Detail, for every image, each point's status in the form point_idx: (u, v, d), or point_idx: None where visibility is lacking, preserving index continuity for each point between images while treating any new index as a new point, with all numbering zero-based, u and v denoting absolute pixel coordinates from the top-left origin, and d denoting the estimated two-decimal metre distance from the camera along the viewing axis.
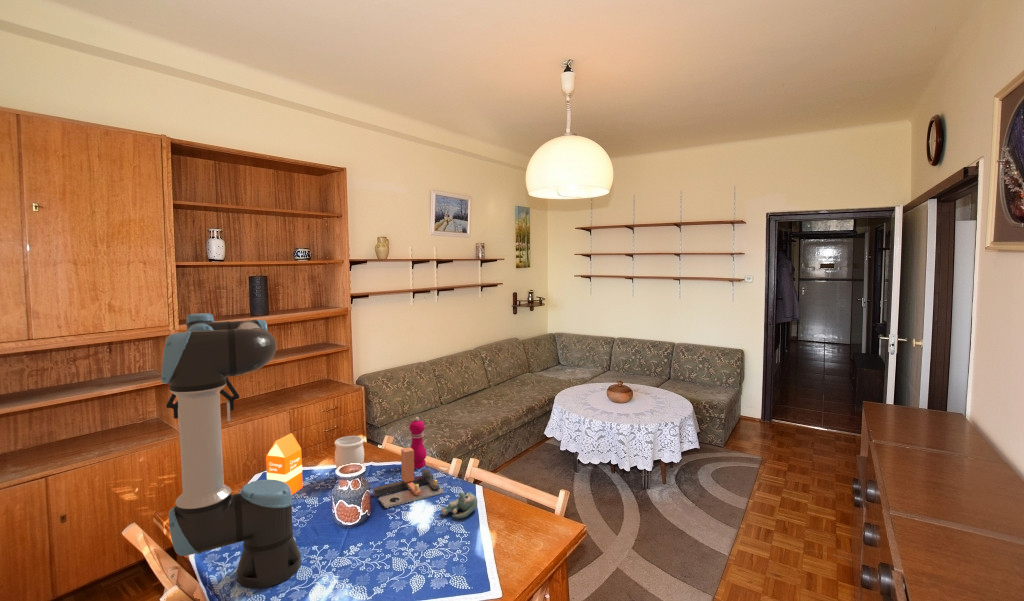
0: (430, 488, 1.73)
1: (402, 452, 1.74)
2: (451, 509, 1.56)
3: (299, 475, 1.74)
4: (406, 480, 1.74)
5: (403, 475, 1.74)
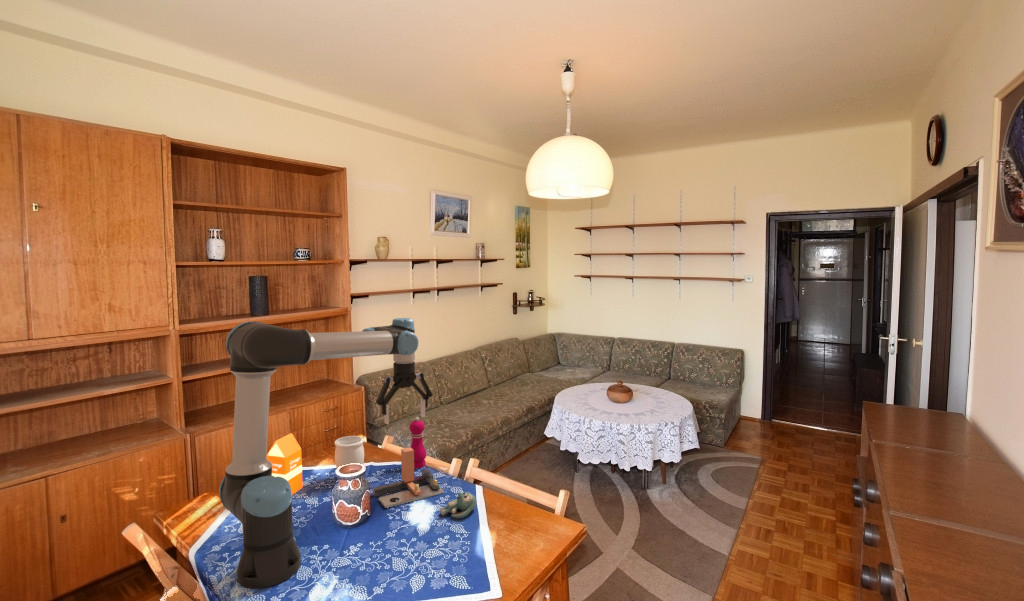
0: (430, 488, 1.73)
1: (402, 452, 1.74)
2: (450, 509, 1.56)
3: (299, 475, 1.74)
4: (406, 480, 1.74)
5: (403, 475, 1.74)
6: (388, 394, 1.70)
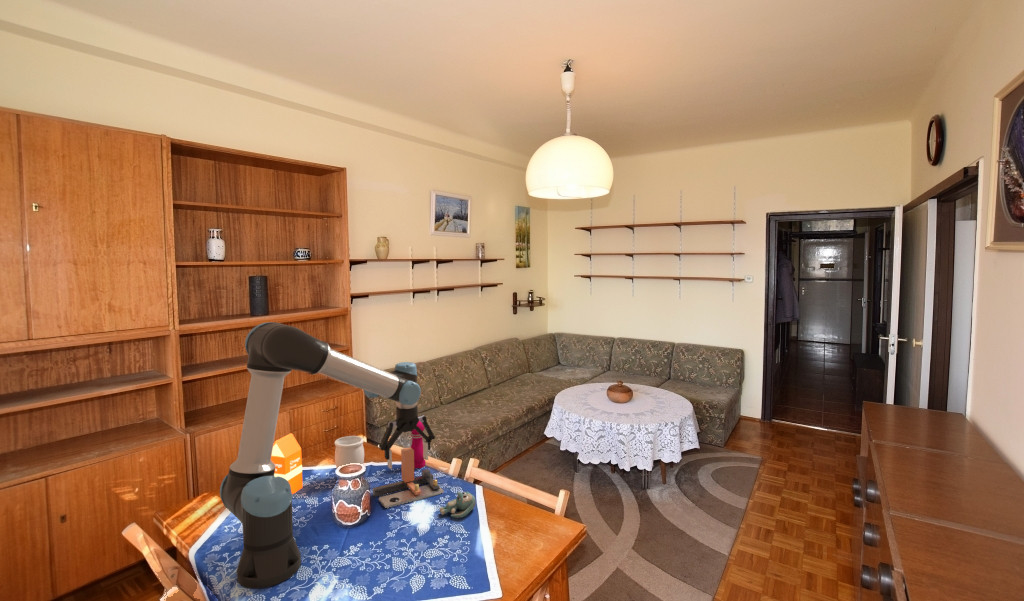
0: (430, 488, 1.73)
1: (402, 452, 1.74)
2: (449, 509, 1.56)
3: (299, 475, 1.74)
4: (406, 480, 1.74)
5: (403, 475, 1.74)
6: (391, 439, 1.71)
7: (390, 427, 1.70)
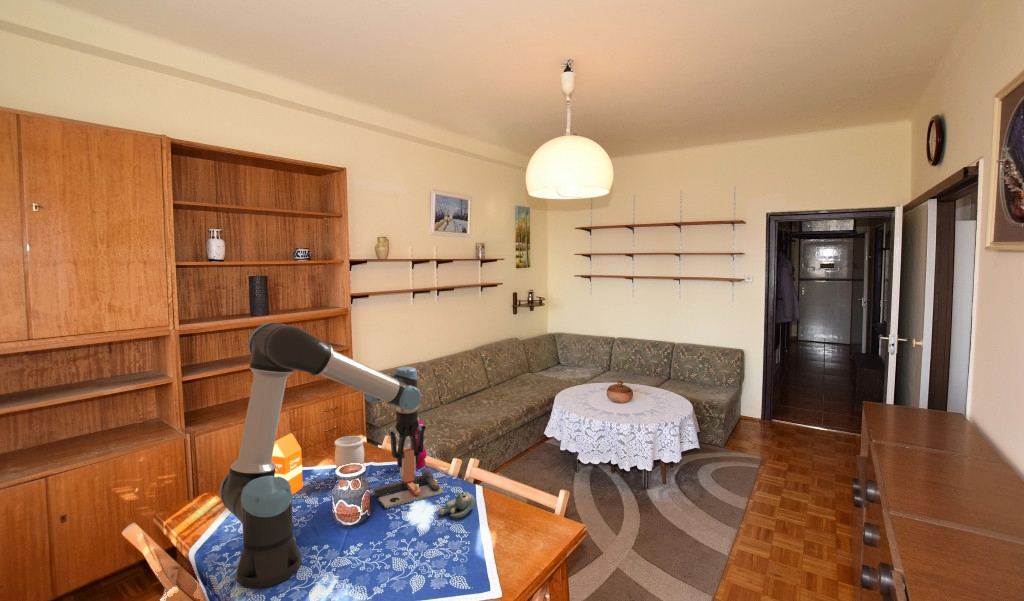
0: (430, 488, 1.73)
1: None
2: (449, 509, 1.56)
3: (299, 475, 1.74)
4: (406, 480, 1.74)
5: None
6: (399, 446, 1.73)
7: (392, 436, 1.70)
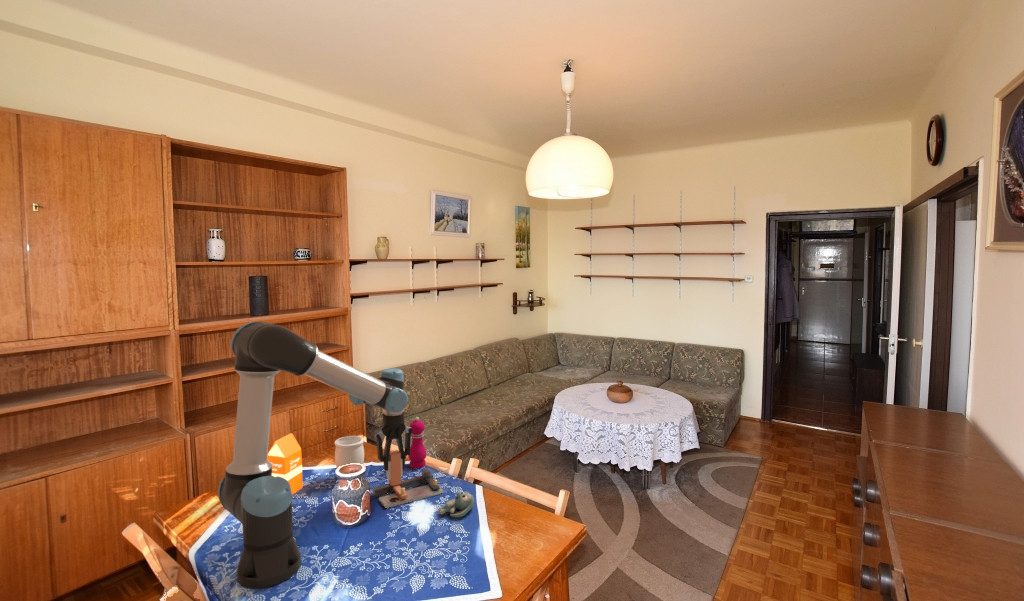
0: (430, 488, 1.73)
1: (389, 455, 1.72)
2: (448, 509, 1.56)
3: (299, 475, 1.74)
4: (393, 483, 1.71)
5: None
6: (385, 449, 1.70)
7: (378, 439, 1.68)
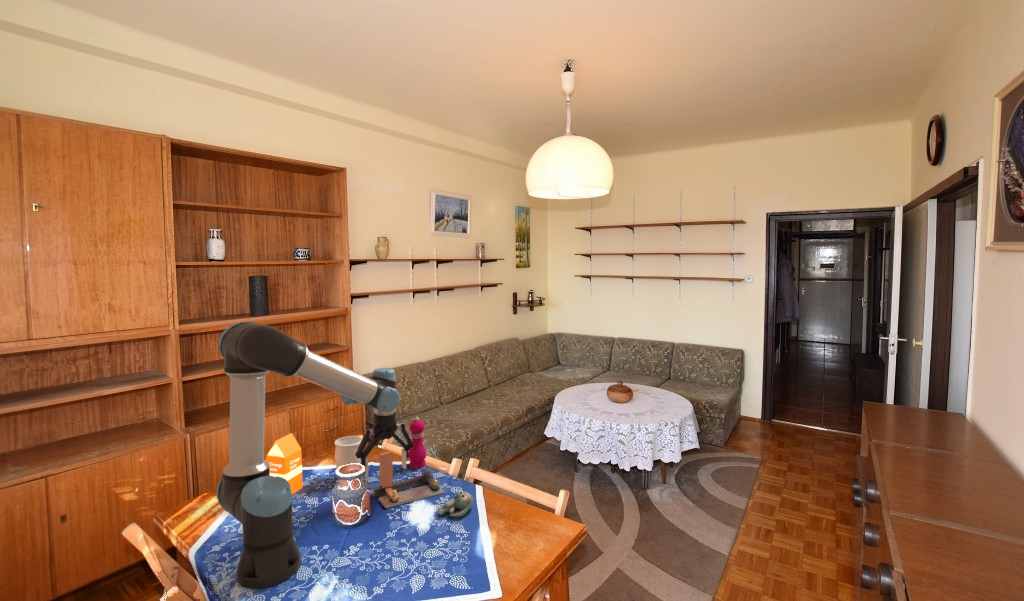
0: (430, 488, 1.73)
1: (380, 457, 1.70)
2: (448, 509, 1.57)
3: (299, 475, 1.74)
4: (384, 485, 1.69)
5: (381, 480, 1.70)
6: (368, 446, 1.67)
7: (367, 434, 1.65)
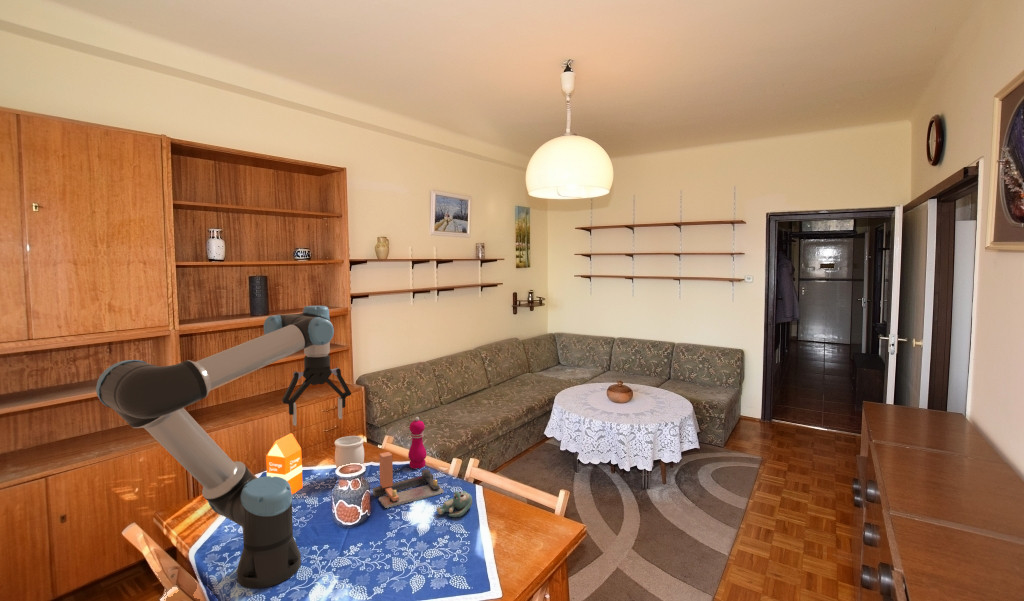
0: (430, 488, 1.73)
1: (380, 457, 1.70)
2: (447, 508, 1.57)
3: (299, 475, 1.74)
4: (384, 485, 1.69)
5: (381, 480, 1.70)
6: (297, 391, 1.50)
7: (295, 377, 1.48)
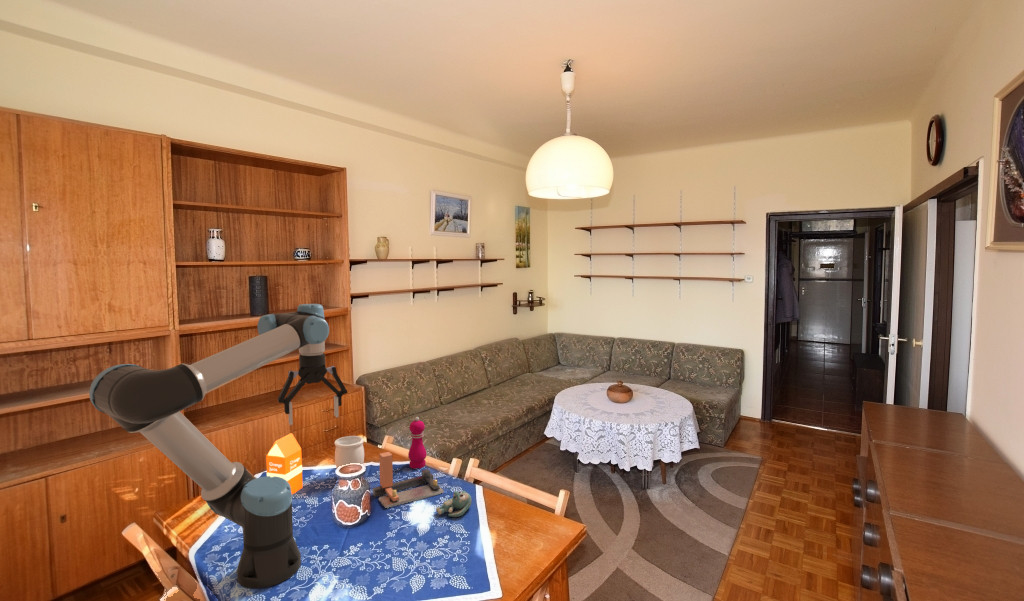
0: (430, 488, 1.73)
1: (380, 457, 1.70)
2: (446, 508, 1.57)
3: (299, 475, 1.74)
4: (384, 485, 1.69)
5: (381, 480, 1.70)
6: (292, 390, 1.49)
7: (290, 376, 1.47)
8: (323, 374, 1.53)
